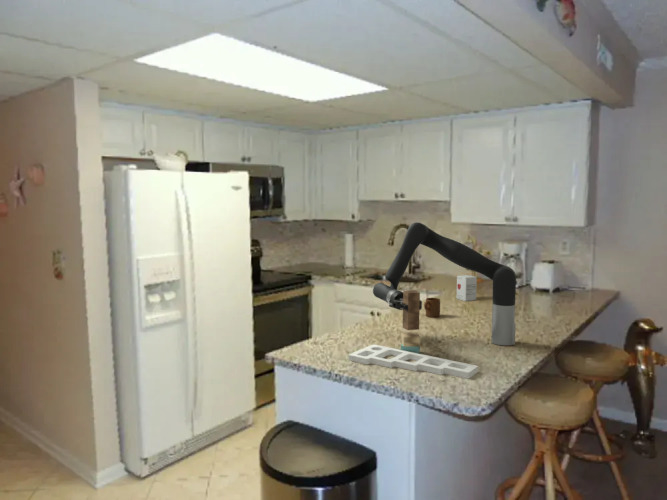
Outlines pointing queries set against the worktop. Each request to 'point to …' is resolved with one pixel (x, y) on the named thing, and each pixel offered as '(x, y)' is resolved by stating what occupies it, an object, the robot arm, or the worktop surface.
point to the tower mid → (410, 339)
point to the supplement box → (466, 287)
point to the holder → (423, 362)
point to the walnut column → (411, 310)
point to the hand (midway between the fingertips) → (413, 307)
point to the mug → (432, 307)
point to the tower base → (411, 348)
